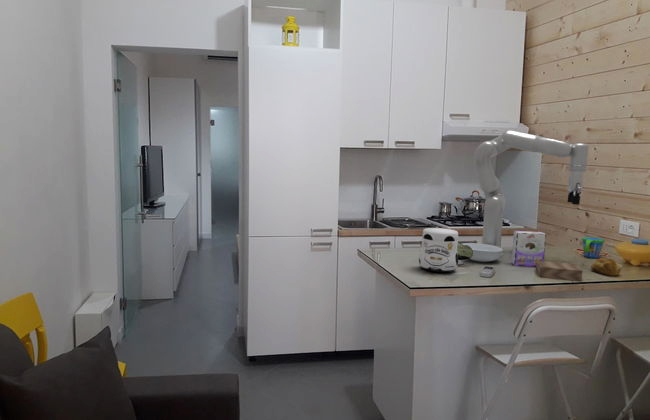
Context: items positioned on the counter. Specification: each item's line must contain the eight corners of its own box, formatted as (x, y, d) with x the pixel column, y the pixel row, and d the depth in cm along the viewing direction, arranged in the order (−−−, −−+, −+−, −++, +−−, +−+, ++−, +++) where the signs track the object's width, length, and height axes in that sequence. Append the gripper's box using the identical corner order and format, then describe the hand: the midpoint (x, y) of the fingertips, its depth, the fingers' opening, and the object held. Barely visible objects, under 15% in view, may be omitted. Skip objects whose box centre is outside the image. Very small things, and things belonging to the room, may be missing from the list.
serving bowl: (493, 267, 241) (494, 252, 241) (451, 259, 254) (452, 246, 253) (507, 260, 258) (508, 247, 257) (467, 254, 270) (468, 241, 270)
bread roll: (585, 270, 242) (587, 254, 241) (600, 269, 246) (602, 253, 245) (609, 277, 230) (611, 260, 229) (625, 276, 234) (626, 259, 233)
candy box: (539, 264, 251) (542, 231, 249) (543, 267, 245) (546, 233, 243) (510, 263, 252) (513, 230, 250) (513, 265, 246) (516, 232, 244)
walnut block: (539, 277, 225) (540, 266, 224) (535, 271, 238) (536, 260, 238) (581, 282, 220) (582, 270, 220) (575, 275, 234) (576, 264, 233)
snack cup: (588, 254, 285) (590, 236, 284) (608, 257, 277) (610, 239, 276) (574, 256, 276) (576, 237, 275) (593, 260, 268) (595, 241, 266)
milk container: (429, 275, 219) (432, 234, 217) (411, 266, 236) (414, 227, 234) (465, 274, 224) (468, 233, 222) (445, 265, 241) (448, 227, 238)
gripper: (565, 167, 260) (561, 201, 262) (573, 168, 244) (569, 204, 246) (581, 168, 259) (577, 202, 261) (590, 169, 242) (585, 205, 244)
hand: (573, 203), depth 253 cm, fingers open, 9 cm apart
